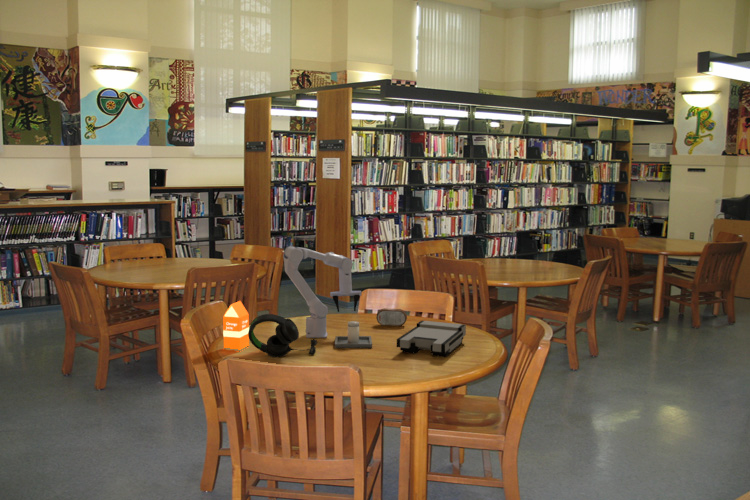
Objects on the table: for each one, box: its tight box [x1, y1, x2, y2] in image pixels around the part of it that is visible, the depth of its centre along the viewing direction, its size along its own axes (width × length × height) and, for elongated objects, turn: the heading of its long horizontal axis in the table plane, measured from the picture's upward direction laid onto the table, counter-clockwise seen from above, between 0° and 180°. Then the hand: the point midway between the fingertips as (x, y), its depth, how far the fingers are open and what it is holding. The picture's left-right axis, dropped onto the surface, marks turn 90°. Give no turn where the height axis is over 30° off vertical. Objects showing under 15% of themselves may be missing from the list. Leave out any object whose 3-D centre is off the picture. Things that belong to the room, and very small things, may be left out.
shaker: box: [347, 321, 360, 344], centre depth 292 cm, size 5×5×9 cm
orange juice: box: [222, 300, 250, 350], centre depth 284 cm, size 8×9×20 cm
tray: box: [334, 335, 373, 349], centre depth 293 cm, size 16×14×2 cm
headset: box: [248, 313, 318, 358], centre depth 274 cm, size 18×14×29 cm
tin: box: [375, 308, 408, 327], centre depth 328 cm, size 15×3×8 cm, turn 84°
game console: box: [396, 320, 467, 358], centre depth 286 cm, size 21×32×8 cm, turn 157°
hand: (346, 311), depth 312 cm, fingers open, 7 cm apart
